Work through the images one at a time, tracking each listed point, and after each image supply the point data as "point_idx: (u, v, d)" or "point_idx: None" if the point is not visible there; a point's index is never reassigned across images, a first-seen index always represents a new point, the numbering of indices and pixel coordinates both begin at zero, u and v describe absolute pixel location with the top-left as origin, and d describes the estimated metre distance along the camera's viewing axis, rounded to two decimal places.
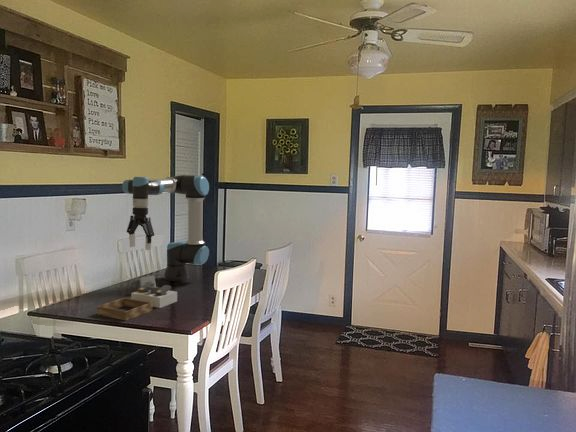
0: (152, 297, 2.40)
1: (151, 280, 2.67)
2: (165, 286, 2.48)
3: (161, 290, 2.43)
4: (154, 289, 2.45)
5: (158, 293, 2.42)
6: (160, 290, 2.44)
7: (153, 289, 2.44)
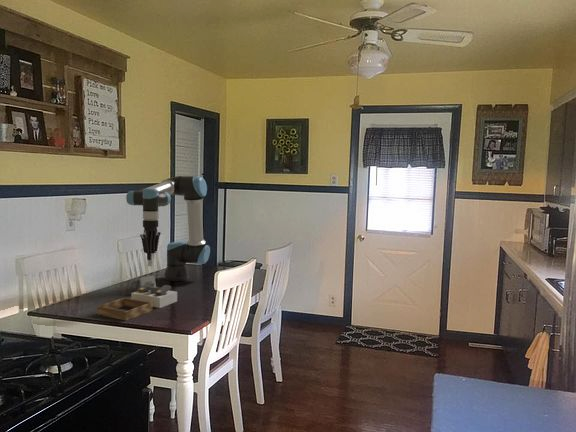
0: (152, 297, 2.40)
1: (151, 280, 2.67)
2: (165, 286, 2.48)
3: (161, 290, 2.43)
4: (154, 289, 2.45)
5: (158, 293, 2.42)
6: (160, 290, 2.44)
7: (153, 289, 2.44)
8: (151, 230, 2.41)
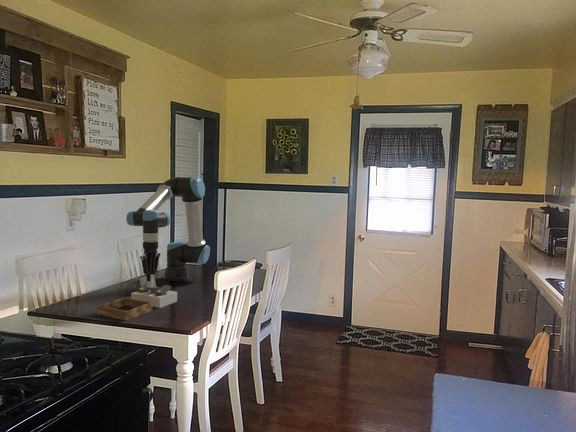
0: (152, 297, 2.40)
1: None
2: (165, 286, 2.48)
3: (161, 290, 2.43)
4: (154, 289, 2.45)
5: (158, 293, 2.42)
6: (160, 290, 2.44)
7: (153, 289, 2.44)
8: (151, 251, 2.42)
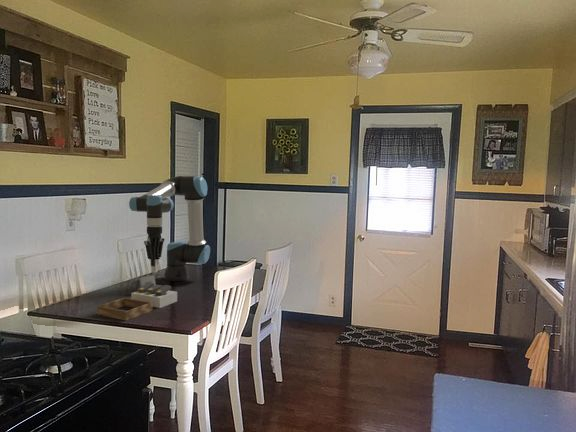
0: (152, 297, 2.40)
1: (151, 280, 2.67)
2: (165, 286, 2.48)
3: (161, 290, 2.43)
4: (154, 290, 2.45)
5: (158, 293, 2.42)
6: (160, 290, 2.44)
7: (153, 291, 2.44)
8: (155, 236, 2.42)
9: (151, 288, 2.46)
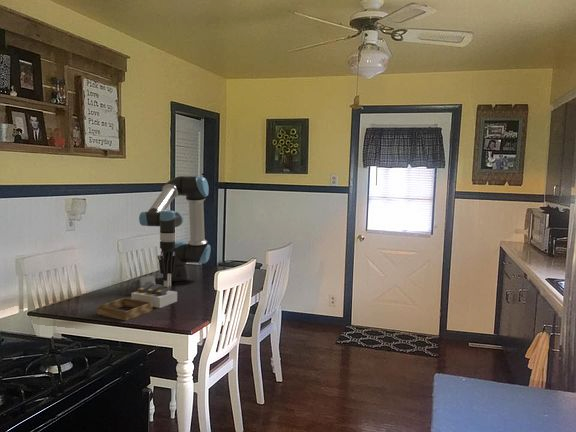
0: (152, 297, 2.40)
1: (151, 280, 2.67)
2: None
3: (161, 290, 2.43)
4: (154, 291, 2.45)
5: (158, 293, 2.42)
6: (160, 290, 2.44)
7: (153, 292, 2.44)
8: (168, 251, 2.46)
9: (151, 288, 2.46)
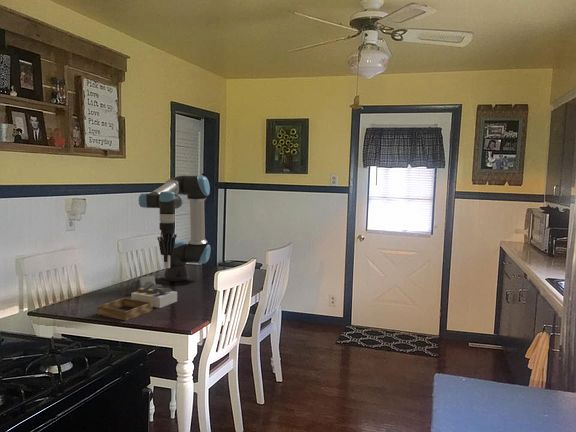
0: (152, 297, 2.40)
1: (151, 280, 2.67)
2: (165, 288, 2.48)
3: (161, 288, 2.44)
4: (154, 291, 2.45)
5: (158, 290, 2.42)
6: (160, 288, 2.44)
7: (153, 292, 2.44)
8: (168, 232, 2.44)
9: (151, 288, 2.46)
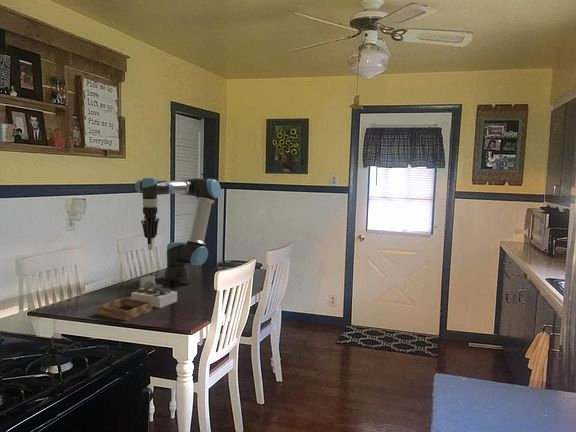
0: (152, 297, 2.40)
1: (151, 280, 2.67)
2: None
3: (161, 288, 2.44)
4: (154, 291, 2.45)
5: (158, 289, 2.42)
6: (160, 288, 2.44)
7: (153, 292, 2.44)
8: (151, 216, 2.59)
9: (151, 288, 2.46)
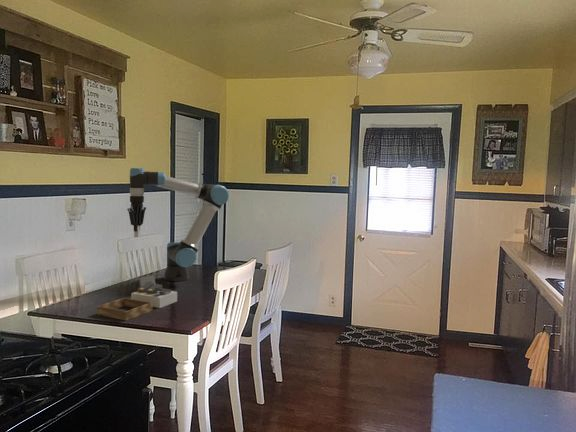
0: (152, 297, 2.40)
1: (151, 280, 2.67)
2: None
3: (162, 288, 2.44)
4: (154, 291, 2.45)
5: (158, 289, 2.42)
6: (161, 288, 2.44)
7: (153, 292, 2.44)
8: (137, 205, 2.71)
9: (151, 288, 2.46)
